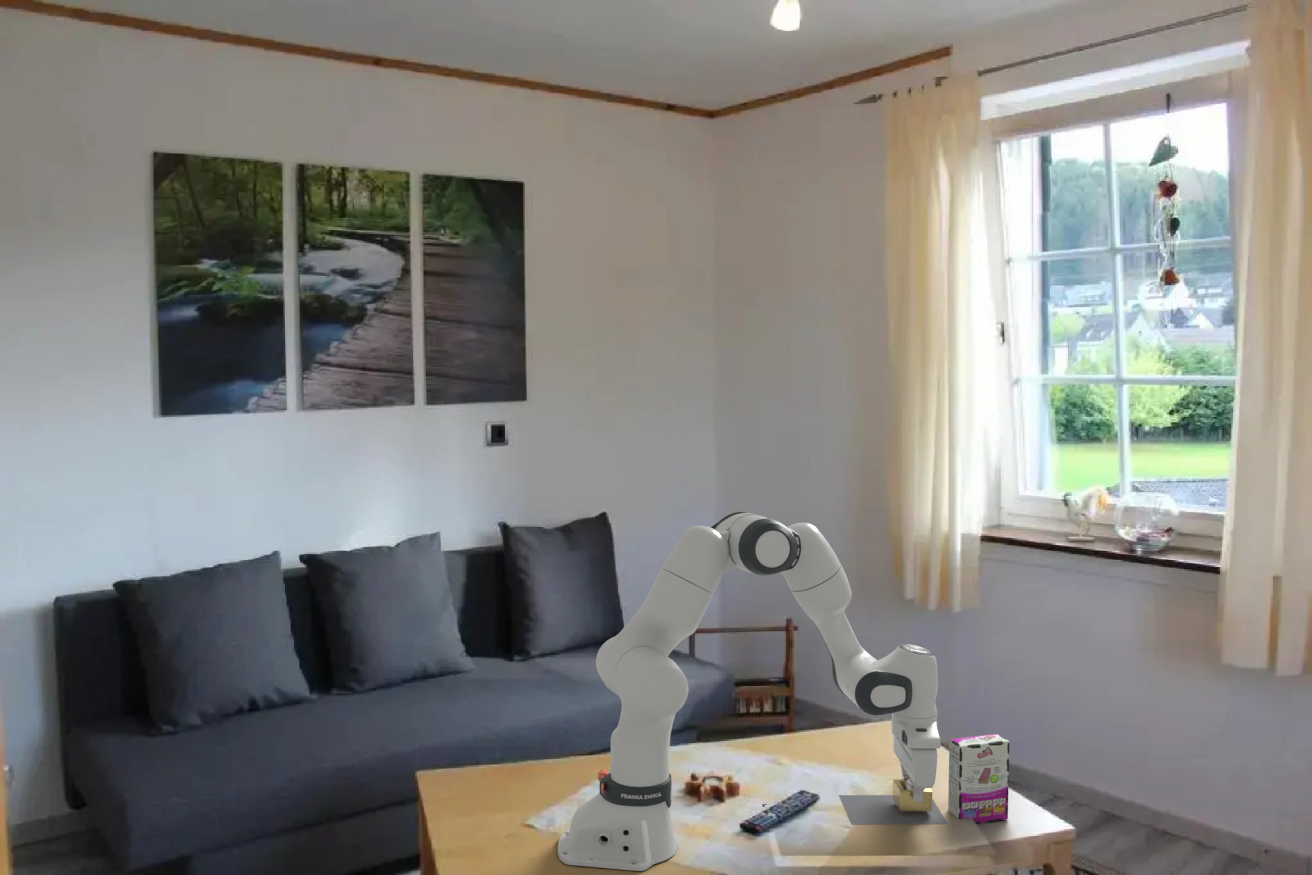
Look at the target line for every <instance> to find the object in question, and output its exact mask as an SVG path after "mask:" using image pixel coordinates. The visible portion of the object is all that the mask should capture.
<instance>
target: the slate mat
mask: <svg viewBox="0 0 1312 875" xmlns="http://www.w3.org/2000/svg"><path fill="white" fill-rule="evenodd" d="M838 796H839V800H840V801H841V803H842V805H843V808H844V810H845V812H846V814H847V817H848V819H849V822H850V823H851V825H949V823H948V821H947V820H946V818H945V817H944V815H943V814H942V812H941V810H940V809H939V807H938V805H937V804H936V802H935V801H934V799H933V798H932V811H915V812H911V811H899V809H898V807H897V805H896V804H895V802H894V800H893V794H839V795H838Z"/></svg>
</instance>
